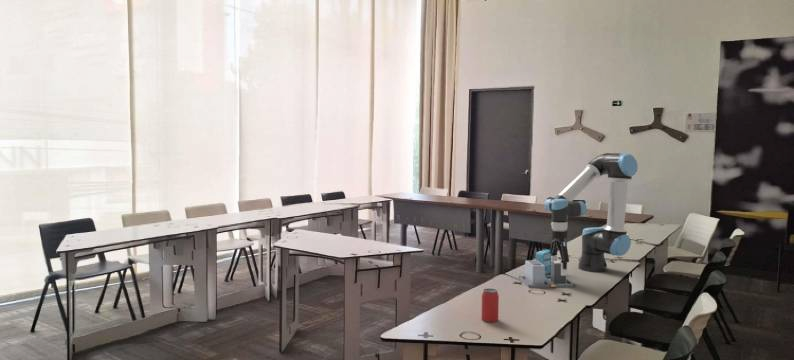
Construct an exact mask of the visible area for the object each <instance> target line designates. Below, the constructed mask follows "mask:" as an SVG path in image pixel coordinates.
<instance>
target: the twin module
mask: <svg viewBox="0 0 794 360" xmlns="http://www.w3.org/2000/svg"><path fill="white" fill-rule="evenodd" d="M524 266H525V267H524V268H525V270H524V273H525V274H524V276H525V280H526V281H527V282H528V283H529V284H530V285H534V284H545V276H546V274H545V266H544V265H543V264H541V263H540V262H539V261H537V260H536V259H535V260H534V259H533V260H525V265H524Z"/></svg>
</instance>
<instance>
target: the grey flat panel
mask: <svg viewBox="0 0 794 360" xmlns="http://www.w3.org/2000/svg"><path fill="white" fill-rule="evenodd" d="M550 279H551V275H545V284H534V285H530V284H529V283H528V282H527V281H526V280H525V275H519V276H518V280H520V281H521V282H522V283H523V284H525V286H526V287H527V288H528V289H539V288H540V289H542V288H544V289H545V288H551V289H552V288H576V285H577V284H576V283H574V282H573V281H571V280H570V279H569V278H567V277H566V284H554V283H552V282H551V281H550Z"/></svg>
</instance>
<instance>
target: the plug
mask: <svg viewBox="0 0 794 360" xmlns="http://www.w3.org/2000/svg"><path fill="white" fill-rule="evenodd" d="M561 261H562V260H557V261H553V262H551V273H550V276H551V279H550V281H551V282H552V283H554V284H566V278H567V275H566V276H561Z"/></svg>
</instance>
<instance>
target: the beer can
mask: <svg viewBox="0 0 794 360" xmlns="http://www.w3.org/2000/svg"><path fill="white" fill-rule="evenodd" d="M499 299H500V298H499V293H498V290H497V289H496V288H495V289H494V288H484V289H483V291H482V293H481V319H482V321H484V322H487V323H495V322H497V321H498V320H499V305H500V304H499Z"/></svg>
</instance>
